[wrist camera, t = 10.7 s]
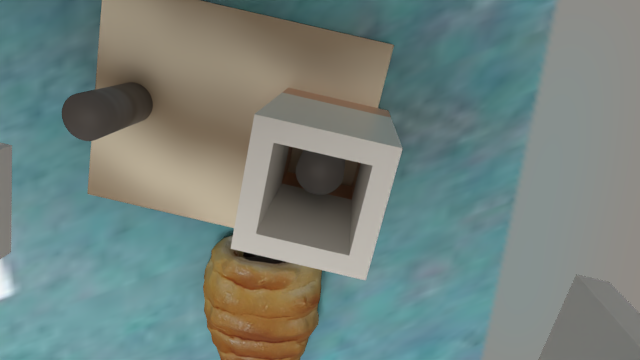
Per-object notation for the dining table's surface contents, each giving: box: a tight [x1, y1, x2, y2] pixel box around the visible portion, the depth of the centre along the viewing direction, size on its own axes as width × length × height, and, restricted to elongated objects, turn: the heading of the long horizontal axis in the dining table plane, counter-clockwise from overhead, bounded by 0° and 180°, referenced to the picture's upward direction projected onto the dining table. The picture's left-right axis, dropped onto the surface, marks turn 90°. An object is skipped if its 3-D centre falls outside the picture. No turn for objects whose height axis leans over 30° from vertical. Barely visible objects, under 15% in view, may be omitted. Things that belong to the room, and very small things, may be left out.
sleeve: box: [231, 88, 403, 280], centre depth 20 cm, size 5×5×8 cm
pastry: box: [203, 235, 322, 360], centre depth 27 cm, size 9×7×4 cm
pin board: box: [62, 0, 394, 228], centre depth 23 cm, size 11×14×6 cm
